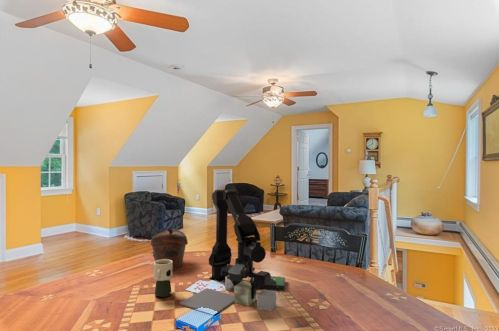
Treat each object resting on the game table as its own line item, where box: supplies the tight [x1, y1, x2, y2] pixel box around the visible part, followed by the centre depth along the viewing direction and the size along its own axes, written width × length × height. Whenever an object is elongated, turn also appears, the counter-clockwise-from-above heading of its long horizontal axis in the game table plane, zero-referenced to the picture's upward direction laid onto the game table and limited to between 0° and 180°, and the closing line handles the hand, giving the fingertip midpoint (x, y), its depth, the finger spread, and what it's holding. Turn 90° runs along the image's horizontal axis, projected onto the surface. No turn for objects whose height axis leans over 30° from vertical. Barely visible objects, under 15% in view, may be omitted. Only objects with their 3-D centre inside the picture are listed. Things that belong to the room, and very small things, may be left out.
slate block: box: [256, 289, 277, 312], centre depth 112 cm, size 5×5×5 cm
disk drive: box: [249, 275, 286, 292], centre depth 132 cm, size 10×3×15 cm
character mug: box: [153, 259, 174, 298], centre depth 121 cm, size 11×7×13 cm, turn 174°
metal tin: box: [224, 276, 234, 292], centre depth 128 cm, size 5×5×6 cm
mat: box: [178, 287, 235, 313], centre depth 116 cm, size 16×16×1 cm
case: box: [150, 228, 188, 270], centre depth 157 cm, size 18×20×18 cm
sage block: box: [233, 280, 257, 307], centre depth 116 cm, size 6×6×6 cm
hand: (245, 296), depth 116 cm, fingers closed on sage block, 6 cm apart
